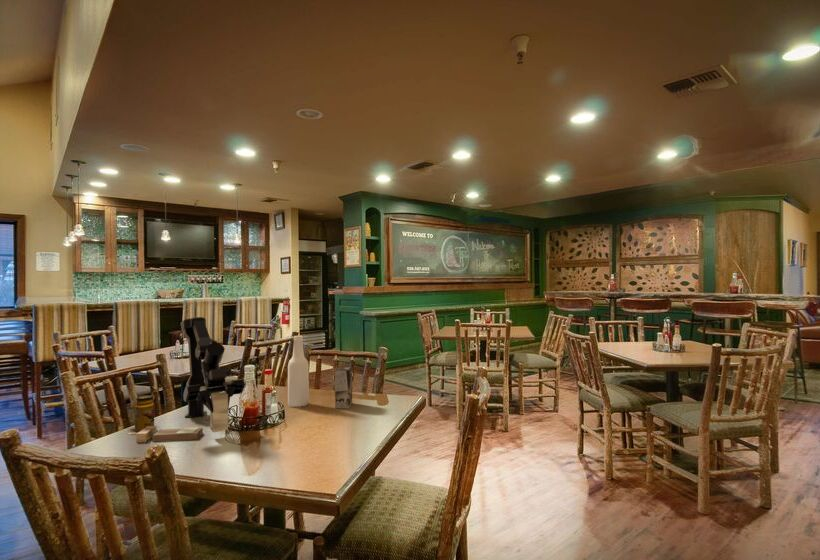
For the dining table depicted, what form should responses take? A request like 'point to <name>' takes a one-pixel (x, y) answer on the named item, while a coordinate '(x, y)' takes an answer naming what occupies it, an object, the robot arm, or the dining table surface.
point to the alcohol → (298, 376)
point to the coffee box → (343, 387)
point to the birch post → (219, 412)
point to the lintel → (145, 434)
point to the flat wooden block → (177, 434)
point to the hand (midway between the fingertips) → (220, 410)
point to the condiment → (143, 413)
